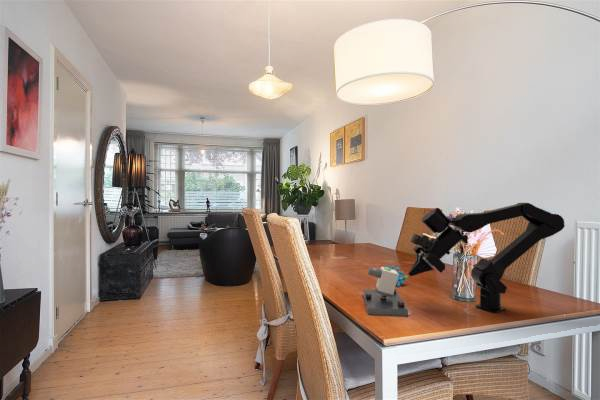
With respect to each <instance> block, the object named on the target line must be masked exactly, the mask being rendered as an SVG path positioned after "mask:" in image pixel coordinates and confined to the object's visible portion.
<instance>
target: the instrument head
mask: <svg viewBox="0 0 600 400" xmlns="http://www.w3.org/2000/svg"><path fill="white" fill-rule="evenodd" d="M367 272H368V273H367V275H368V276H371V277H374V278H377V281H376V285H375V289H374V290H375V291H376V292H377V293H379V294H381V295H384V296H389V297H392V296H393V294H394V290H395V289H396V287H397V279H398V275H400V274H398V273H397V272H398V271H397V272H396V271H395V269H393V270H392V269H391V267H389V268H388V267H386V266H380V268H376V267H371V266H369V268H368V270H367Z"/></svg>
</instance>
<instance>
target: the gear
mask: <svg viewBox="0 0 600 400" xmlns="http://www.w3.org/2000/svg"><path fill="white" fill-rule="evenodd" d="M385 267H388V268H390V269H392V270H395V271H396V272H397V273H398V274H399V275H398V279H397V283H396V287H400V286H401V285H403V284H404V283H405V280H407V279H408V275H403V274H404V271H403V270H401V271H400V268H399V267H398V266H397V267H396V268H395V265H390V266H389V265H386V266H385ZM394 268H395V269H394Z"/></svg>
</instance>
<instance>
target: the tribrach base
mask: <svg viewBox="0 0 600 400" xmlns="http://www.w3.org/2000/svg"><path fill="white" fill-rule="evenodd" d="M362 296H363V300H364V303H365V304H364V305H365V307H366V311H367V312H366V313H367V314H368V315H375V316H376V315H377V316H393V317H394V316H395V317H396V316H398V317H408V316H409V308H408V307H407V306H406V304H405V302H404V301H403V299H402V298H401V296H400V294H399V293H398V292H397V289H396V288H395V290H394V294H393V296H392V297H389V296H384V295H381V294H379V293H377V292H376V291H375V289H362Z"/></svg>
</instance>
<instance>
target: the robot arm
mask: <svg viewBox="0 0 600 400" xmlns="http://www.w3.org/2000/svg"><path fill="white" fill-rule="evenodd" d="M519 217H522V218H523V219H524V220H525V221H528V224H527V226H526V229H525V230H524V231H523V232H522V233H521V234H520V235H519V236H518V237H516V238H515V239H514V240H513V241H512V242H511V243H509V244H508V245H507V246H506V247H504V248H503V249H502V250H501V251H500V252H499V253H497V254H496V255H495V256H494V257H493V258H490V259H486V258H483V257H482V258H480V260H479V261H478V262H477V263H476V264H472V266H473V268H472V269H471V270H470V272H471V273H470V276H471V279H472V280H474V282H475V284H476V286H477V287H480V289H479V292H480V293H479V294H480V295H479V304H475V308H477V309H481V310H484V311H488V312H491V313H498V312H502V311H505V310H506V309H507V308H506V307H505V306H502V294H504V295H505V294H506V292H507V289H508V287H507V285H505V284H504V283H503V282H502V281H501V280H502V278H503V277H504V273H505V271H506V269H507V268H509V267H510V266H511V265H513V263H515V262H516V261H517V260H518V259H519V258H520V257H522V256H523V255H524V254H526V253H527V252H528V251H529V250H530V249H531V248H533V247H534V246H535V245H536V244H538V243H539V242H540V241H542V240H544V239H546V238H547V239H548V238H550V237H553V236H554V235H556V234H557V233H559V232H561V231H563V229H564V228H565V226H566V225H565V219H564V218H563V216H561V215H560V214H557V213H552V212H549V211H547V210H545V209H543V208H540V207H537V206H535V205H534V204H532V203H530V202H518V203H516V204H513V205H508V206H504V207H500V208H494V209H491V210H487V211H484V212H470V213H469V212H467V213H459V214H457V215H455V217H448V216H447V215H446V214H444V212H443V211H442V210H441V209H440V208H439V207H435V208H434V209H433V210H430V211H429V212H428V213H426V214H425V215H424V216H423V217H422V219H421V222H422V223H423V224H424V225H425V226H426V228H427V229H429V230H430V231H431V232H432V234H436V233H438V234H439V235H438V236H436V237H435V238H434V237H433V238H430V237H429V236H428V235H426V234H421V235H419V234H417V233H413V235H412V237H411V239H410V243H412V244H414V245H415V246H414V247H413V248H412V250H413V252H415V261H414V263H413V265H412V266H411V268H410V270H409V271H408V273H407V275H409V276H410V277H413V276H417V275H419V274H423V273H427V272H429V271H434V270H435V269H436V270H437V272H439V273H440V274H442V272H443V271H445V269H446V264H445V263H444V262H443V261H442V260H441V259H442V258H443V257H444V256H446V255H450V254H451V252H450V251H451V250H452V249H453V248H454V247H456V245H458V244H459V243H460V242H461V243H463V244H466V245H468V243H469V241H468V237H469V236H468V235H466V234H463V233H462V232H465V233H474V232H476V231H478V230H480V229H482V228H484V227H485V226H488V225H489V224H490V225H491V224H494V223H497V222H502V221H507V220H510V219H511V220H512V219H515V218H519ZM453 227H455V229H454V228H453ZM460 231H461V232H460ZM434 268H435V269H434Z"/></svg>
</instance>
